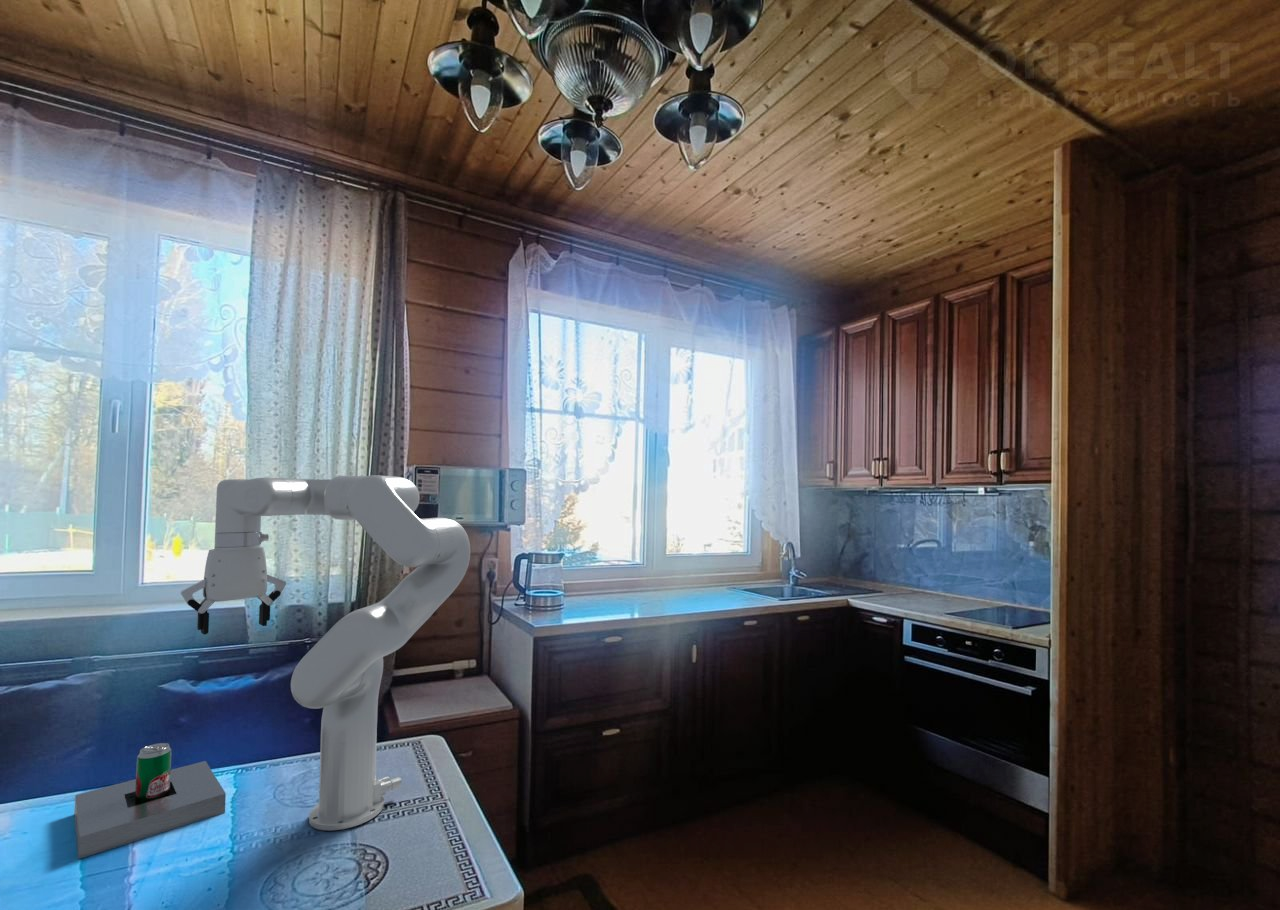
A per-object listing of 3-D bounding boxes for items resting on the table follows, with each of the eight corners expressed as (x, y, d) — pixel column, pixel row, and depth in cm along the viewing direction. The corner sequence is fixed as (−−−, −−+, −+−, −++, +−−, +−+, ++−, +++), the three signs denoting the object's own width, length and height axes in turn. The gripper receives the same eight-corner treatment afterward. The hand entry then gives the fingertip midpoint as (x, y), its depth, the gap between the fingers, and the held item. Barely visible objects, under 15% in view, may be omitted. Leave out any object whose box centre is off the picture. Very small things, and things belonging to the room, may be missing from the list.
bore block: (204, 777, 125) (205, 760, 125) (224, 812, 111) (225, 793, 111) (74, 814, 111) (75, 795, 111) (78, 859, 97) (79, 837, 97)
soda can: (148, 822, 108) (151, 754, 109) (126, 819, 109) (130, 752, 110) (175, 807, 113) (178, 743, 114) (154, 805, 114) (157, 741, 115)
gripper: (281, 538, 126) (279, 619, 125) (180, 543, 114) (176, 633, 113) (292, 539, 121) (289, 624, 120) (186, 545, 109) (182, 640, 108)
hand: (234, 629), depth 116 cm, fingers open, 9 cm apart
